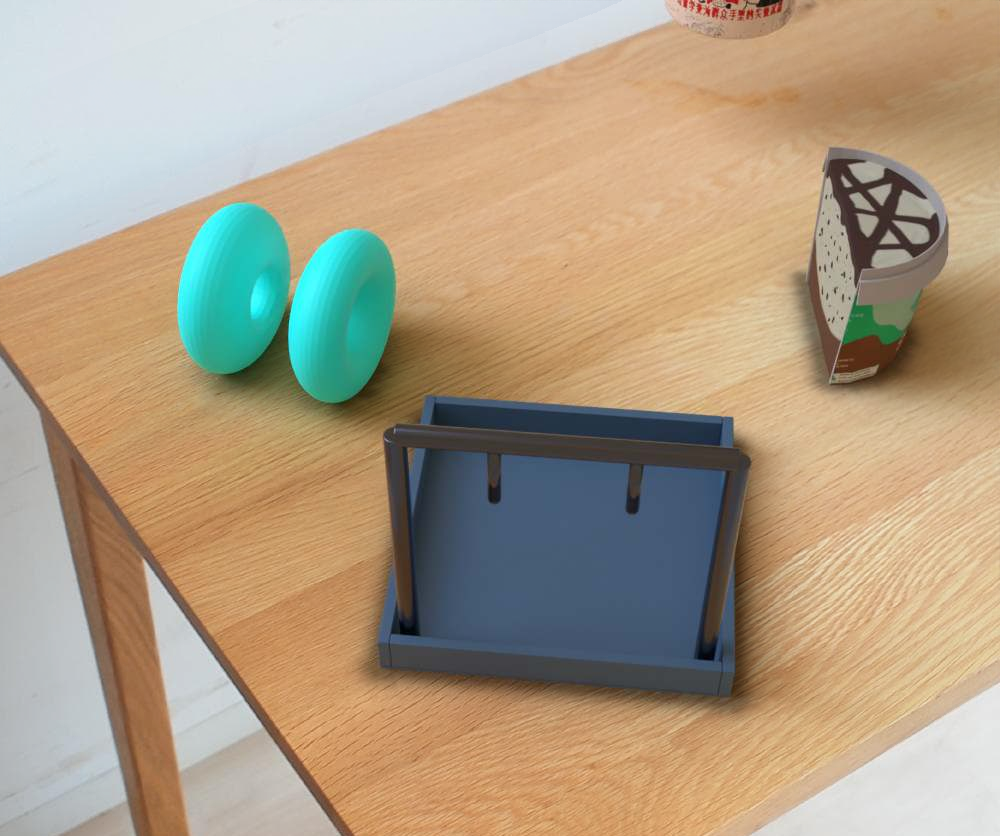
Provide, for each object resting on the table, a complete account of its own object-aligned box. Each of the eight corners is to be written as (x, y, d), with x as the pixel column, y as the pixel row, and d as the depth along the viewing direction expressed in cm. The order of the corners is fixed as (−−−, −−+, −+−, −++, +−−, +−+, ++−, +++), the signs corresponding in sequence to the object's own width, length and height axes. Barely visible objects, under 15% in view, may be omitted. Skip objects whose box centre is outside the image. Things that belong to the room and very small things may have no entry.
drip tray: (727, 451, 82) (733, 416, 80) (728, 705, 71) (735, 672, 69) (427, 429, 83) (425, 394, 81) (380, 675, 72) (376, 642, 70)
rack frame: (710, 673, 72) (753, 443, 60) (709, 690, 71) (753, 461, 59) (403, 647, 73) (383, 416, 61) (400, 663, 72) (380, 433, 60)
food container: (936, 409, 84) (979, 276, 77) (831, 410, 84) (864, 276, 77) (896, 273, 92) (932, 140, 85) (800, 273, 92) (827, 140, 85)
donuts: (260, 296, 91) (238, 163, 83) (407, 333, 89) (398, 199, 81) (184, 401, 85) (154, 268, 77) (340, 443, 82) (324, 310, 75)
